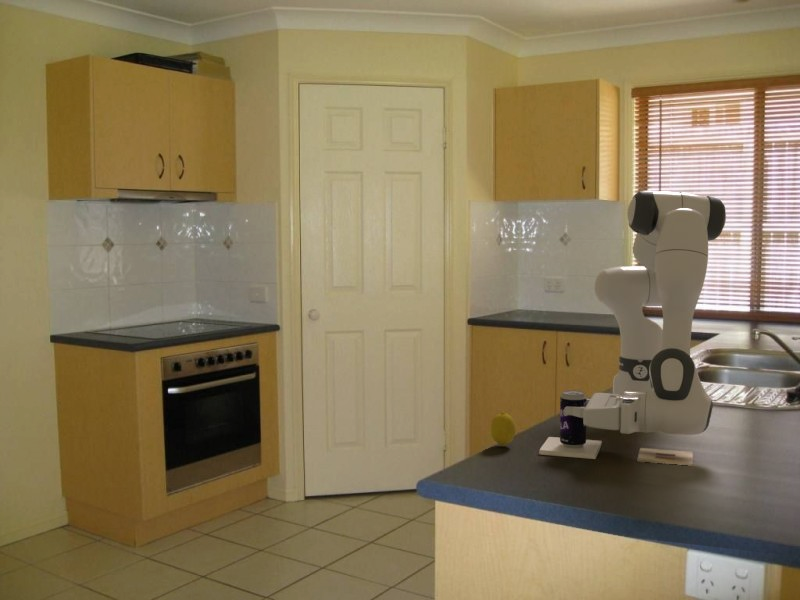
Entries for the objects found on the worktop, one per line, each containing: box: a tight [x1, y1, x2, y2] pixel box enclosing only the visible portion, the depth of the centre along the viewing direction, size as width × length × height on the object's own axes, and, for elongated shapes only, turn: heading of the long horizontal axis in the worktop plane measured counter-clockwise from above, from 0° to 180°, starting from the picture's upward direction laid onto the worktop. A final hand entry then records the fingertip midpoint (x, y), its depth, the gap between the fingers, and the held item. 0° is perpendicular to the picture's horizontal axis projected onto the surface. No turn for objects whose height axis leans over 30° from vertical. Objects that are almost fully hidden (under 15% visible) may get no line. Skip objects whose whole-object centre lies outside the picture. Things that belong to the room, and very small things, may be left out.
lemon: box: [490, 411, 516, 448], centre depth 184 cm, size 6×6×8 cm
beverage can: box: [559, 389, 587, 448], centre depth 180 cm, size 6×6×12 cm
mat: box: [538, 436, 603, 460], centre depth 181 cm, size 12×12×1 cm
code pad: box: [636, 447, 694, 467], centre depth 174 cm, size 11×11×1 cm
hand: (567, 406), depth 180 cm, fingers closed on beverage can, 6 cm apart
